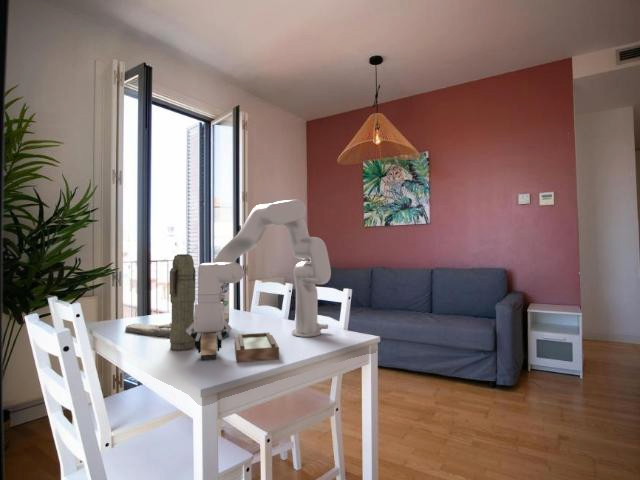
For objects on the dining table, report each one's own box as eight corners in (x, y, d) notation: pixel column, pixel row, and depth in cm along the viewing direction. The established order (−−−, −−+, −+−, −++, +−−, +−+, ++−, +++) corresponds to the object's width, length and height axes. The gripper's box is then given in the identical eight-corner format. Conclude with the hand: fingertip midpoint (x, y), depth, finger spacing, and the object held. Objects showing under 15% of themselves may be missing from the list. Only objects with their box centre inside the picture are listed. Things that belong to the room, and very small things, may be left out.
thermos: (161, 351, 135) (162, 254, 136) (182, 342, 147) (182, 254, 147) (182, 353, 133) (183, 255, 133) (201, 344, 144) (202, 254, 145)
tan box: (216, 351, 134) (216, 324, 134) (216, 360, 124) (216, 330, 125) (202, 352, 133) (202, 324, 133) (200, 361, 123) (200, 331, 123)
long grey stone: (137, 331, 173) (119, 337, 164) (136, 320, 173) (118, 325, 164) (199, 333, 161) (183, 340, 151) (198, 321, 161) (182, 327, 151)
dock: (271, 345, 143) (272, 331, 143) (278, 359, 126) (278, 343, 126) (234, 347, 140) (234, 333, 140) (236, 362, 122) (236, 346, 122)
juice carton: (203, 327, 174) (204, 269, 175) (226, 325, 179) (226, 269, 179) (206, 331, 166) (206, 270, 167) (230, 329, 171) (230, 270, 171)
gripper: (234, 296, 135) (234, 346, 134) (184, 298, 130) (183, 349, 130) (235, 299, 128) (234, 352, 127) (181, 301, 123) (181, 356, 123)
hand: (208, 350), depth 129 cm, fingers open, 5 cm apart
